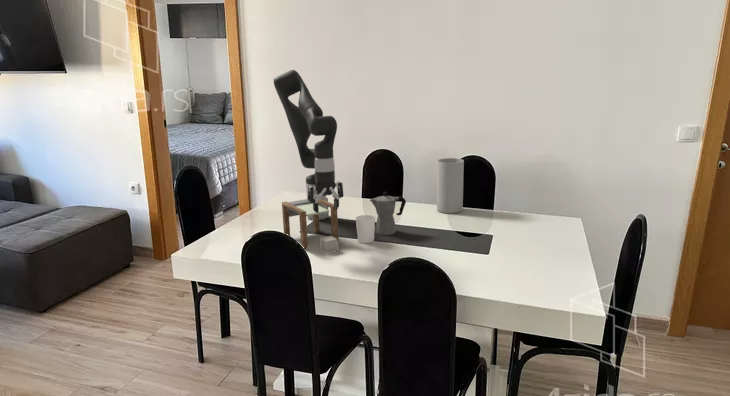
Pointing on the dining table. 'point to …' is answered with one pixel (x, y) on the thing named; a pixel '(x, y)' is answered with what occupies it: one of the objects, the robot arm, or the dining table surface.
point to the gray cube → (328, 244)
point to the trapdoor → (306, 208)
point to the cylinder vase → (450, 185)
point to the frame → (304, 223)
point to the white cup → (365, 228)
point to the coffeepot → (386, 213)
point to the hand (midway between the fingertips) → (326, 210)
